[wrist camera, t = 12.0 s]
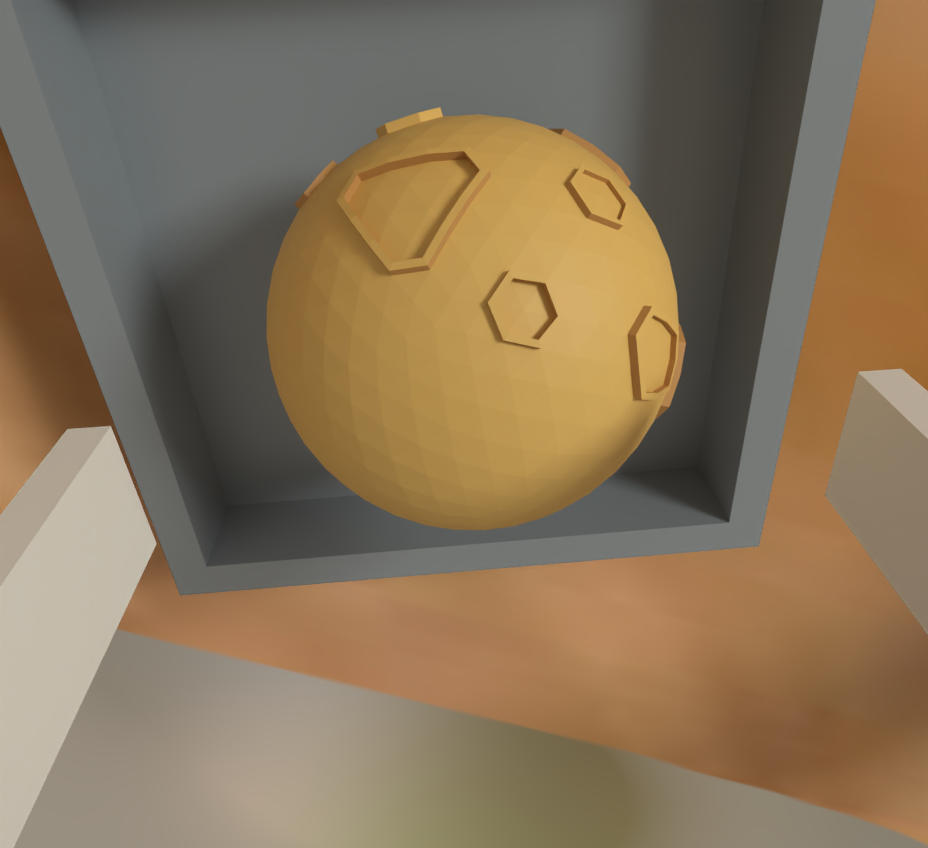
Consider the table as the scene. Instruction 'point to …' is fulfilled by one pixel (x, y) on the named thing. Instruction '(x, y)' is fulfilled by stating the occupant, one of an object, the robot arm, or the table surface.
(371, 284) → the stress ball
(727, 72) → the tray
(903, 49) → the table surface
